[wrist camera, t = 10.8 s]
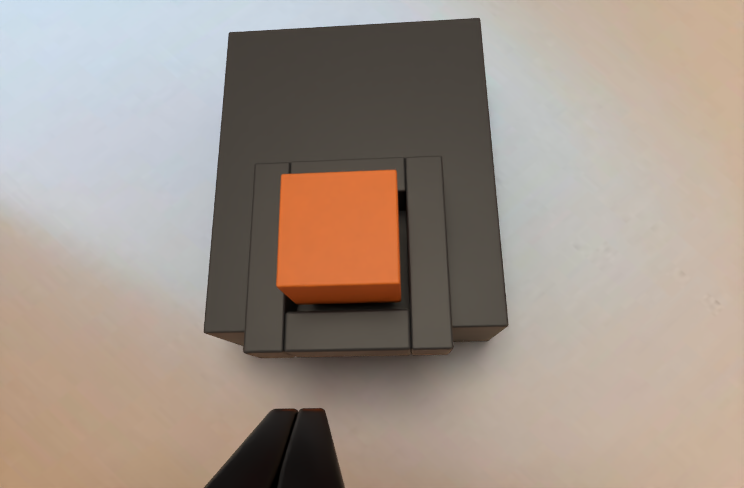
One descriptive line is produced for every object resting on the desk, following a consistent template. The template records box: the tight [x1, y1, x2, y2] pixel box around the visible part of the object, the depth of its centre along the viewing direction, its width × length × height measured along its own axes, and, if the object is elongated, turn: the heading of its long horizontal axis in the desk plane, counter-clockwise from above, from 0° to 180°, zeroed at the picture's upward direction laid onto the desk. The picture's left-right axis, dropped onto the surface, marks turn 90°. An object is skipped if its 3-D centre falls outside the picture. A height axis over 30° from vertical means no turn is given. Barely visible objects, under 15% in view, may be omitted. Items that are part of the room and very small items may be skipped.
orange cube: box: [276, 170, 401, 305], centre depth 15 cm, size 3×3×3 cm
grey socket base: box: [204, 18, 508, 358], centre depth 19 cm, size 13×10×6 cm
